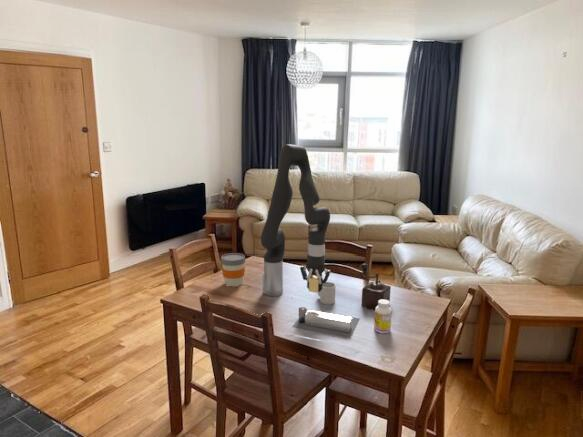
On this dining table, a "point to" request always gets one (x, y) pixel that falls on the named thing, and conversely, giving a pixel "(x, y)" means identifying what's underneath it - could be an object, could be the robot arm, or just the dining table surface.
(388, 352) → the dining table surface
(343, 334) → the mat
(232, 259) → the reusable coffee cup
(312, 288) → the block
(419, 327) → the dining table surface
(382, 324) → the supplement bottle
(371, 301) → the coffee grinder
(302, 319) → the base
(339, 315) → the bar
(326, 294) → the cup
